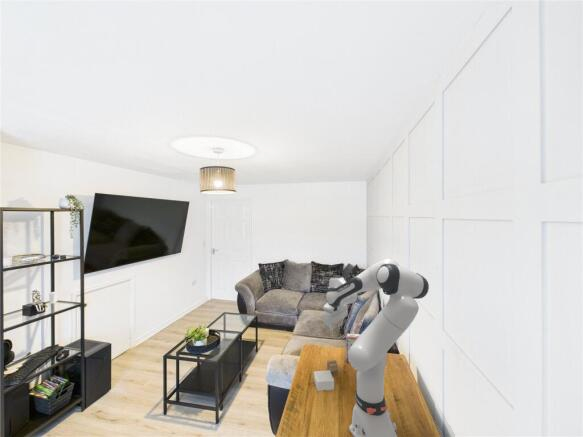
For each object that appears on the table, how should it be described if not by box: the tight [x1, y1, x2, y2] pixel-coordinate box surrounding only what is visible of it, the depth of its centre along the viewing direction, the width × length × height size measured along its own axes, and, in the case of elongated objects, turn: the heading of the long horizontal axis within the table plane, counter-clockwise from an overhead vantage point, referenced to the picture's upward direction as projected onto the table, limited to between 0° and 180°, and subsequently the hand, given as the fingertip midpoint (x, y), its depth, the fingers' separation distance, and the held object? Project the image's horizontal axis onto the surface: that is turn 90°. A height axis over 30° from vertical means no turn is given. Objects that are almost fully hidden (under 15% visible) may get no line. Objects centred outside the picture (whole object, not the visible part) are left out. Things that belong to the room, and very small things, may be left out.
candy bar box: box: [345, 333, 362, 364], centre depth 154 cm, size 11×5×16 cm, turn 84°
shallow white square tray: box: [313, 370, 335, 392], centre depth 133 cm, size 9×9×5 cm
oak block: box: [326, 359, 339, 377], centre depth 143 cm, size 5×5×6 cm
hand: (336, 328), depth 142 cm, fingers open, 8 cm apart
